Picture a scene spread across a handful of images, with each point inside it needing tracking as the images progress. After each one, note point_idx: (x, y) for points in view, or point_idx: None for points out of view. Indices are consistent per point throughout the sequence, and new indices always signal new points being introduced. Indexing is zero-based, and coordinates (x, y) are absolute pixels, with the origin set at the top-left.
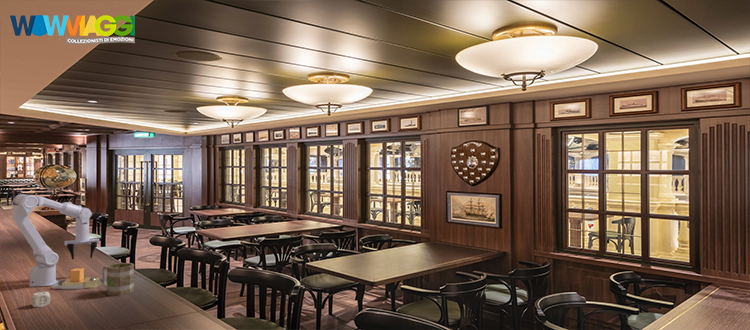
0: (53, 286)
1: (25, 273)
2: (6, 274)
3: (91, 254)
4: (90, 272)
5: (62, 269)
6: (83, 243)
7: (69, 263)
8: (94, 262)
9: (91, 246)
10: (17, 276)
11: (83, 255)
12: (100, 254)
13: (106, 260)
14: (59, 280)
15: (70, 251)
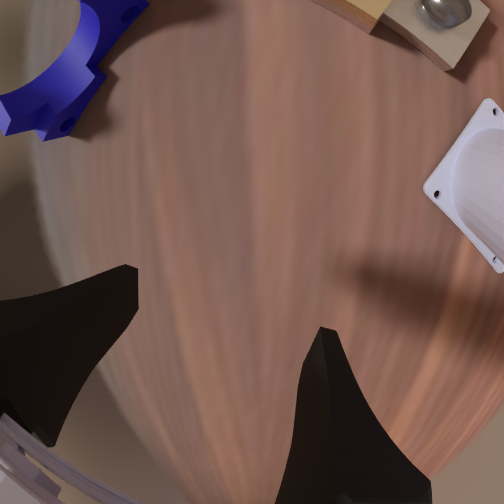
0: (482, 6)
1: (424, 447)
2: (457, 454)
3: (99, 278)
4: (204, 315)
5: None
6: (104, 490)
7: (261, 475)
8: (185, 443)
9: (2, 328)
10: (463, 425)
11: (214, 496)
12: (173, 480)
13: (149, 435)
14: (464, 17)
15: (369, 420)
